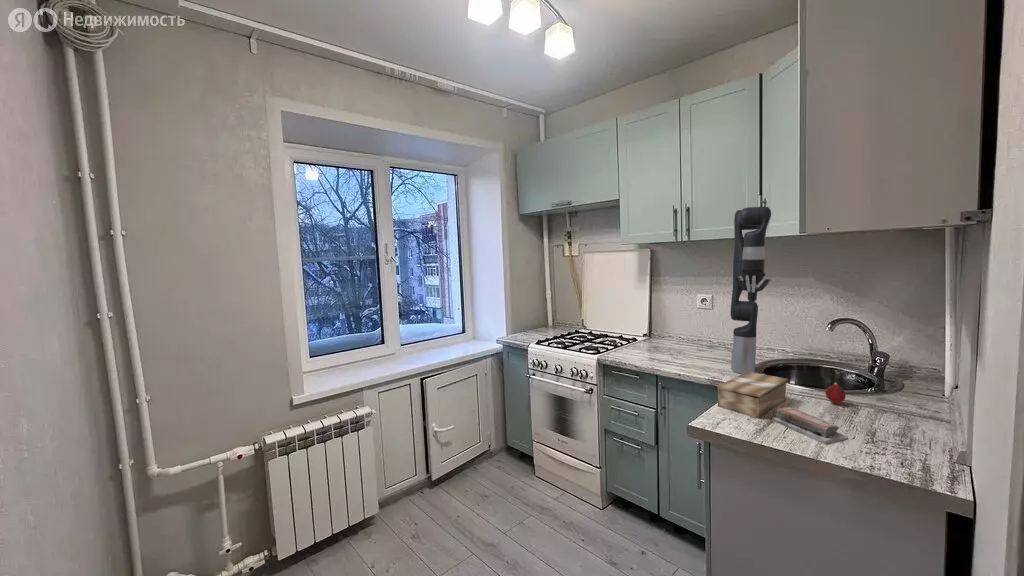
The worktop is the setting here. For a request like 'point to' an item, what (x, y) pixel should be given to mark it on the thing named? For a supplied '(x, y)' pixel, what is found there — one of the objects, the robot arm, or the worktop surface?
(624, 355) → the worktop surface
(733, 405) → the carton
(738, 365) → the robot arm
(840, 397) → the onion
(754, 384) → the carton lid
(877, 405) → the worktop surface
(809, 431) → the packaged product
